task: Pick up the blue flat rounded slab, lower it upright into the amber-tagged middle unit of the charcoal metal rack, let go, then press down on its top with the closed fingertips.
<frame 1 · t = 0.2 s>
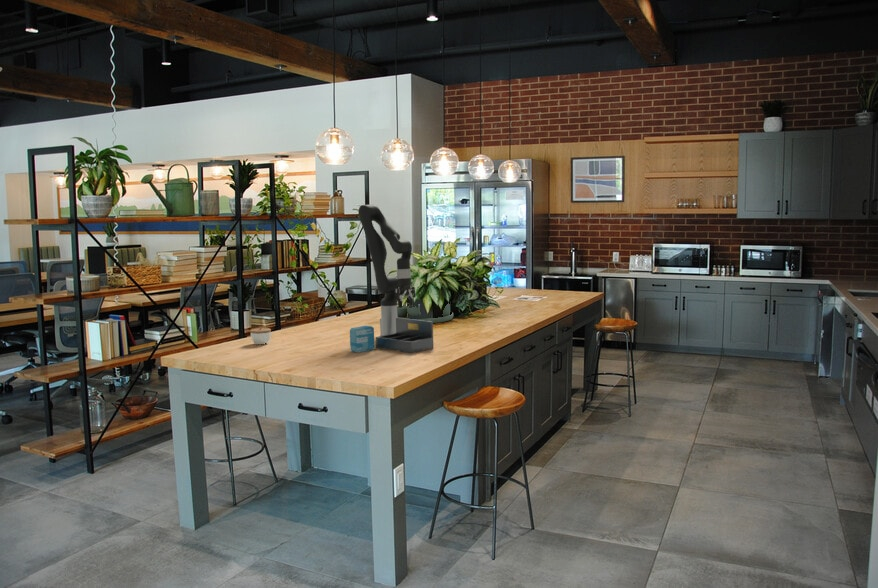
hand: (405, 306, 382), 17 cm above the table, tool pointing down, fingers open, 8 cm apart
blue flat rounded slab: (362, 351, 351), on the table
tea set: (422, 319, 451), on the table
rack: (404, 347, 356), on the table
lidded jar: (261, 344, 377), on the table
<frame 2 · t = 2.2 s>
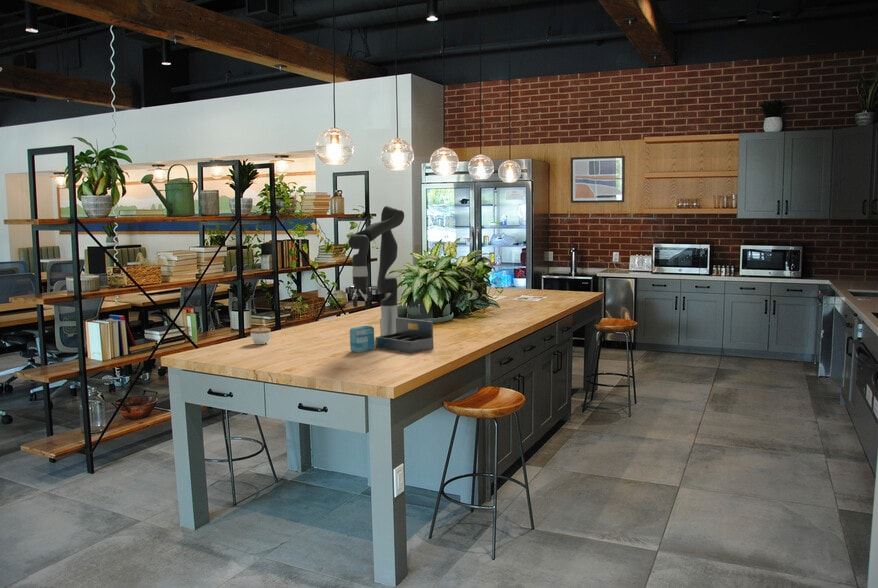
hand: (361, 307, 349), 22 cm above the table, tool pointing down, fingers open, 8 cm apart
nothing on the table moved.
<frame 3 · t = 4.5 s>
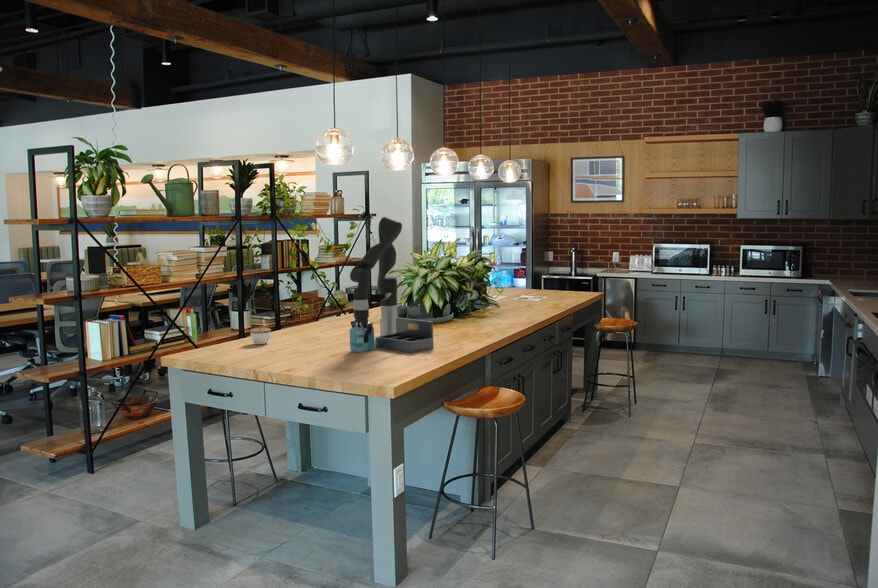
hand: (362, 341, 351), 4 cm above the table, tool pointing down, fingers closed on blue flat rounded slab, 4 cm apart
blue flat rounded slab: (362, 350, 351), on the table, touching gripper
everything else where it was.
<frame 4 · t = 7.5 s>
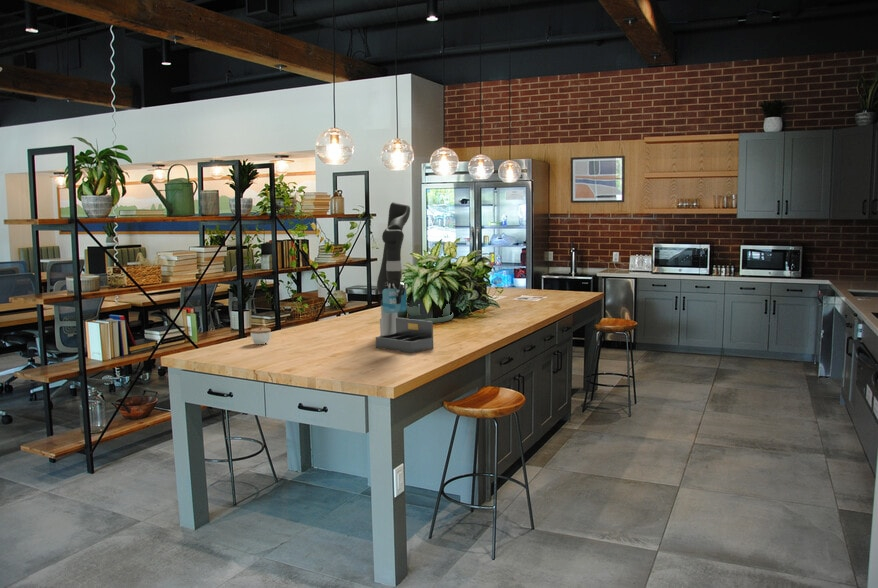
hand: (394, 303, 352), 23 cm above the table, tool pointing down, fingers closed on blue flat rounded slab, 4 cm apart
blue flat rounded slab: (395, 312, 353), point 18 cm above the table, touching gripper
everything else where it was.
when the fingers open (7 cm above the table, at t = 10.5 s): blue flat rounded slab stays where it is, resting on rack.
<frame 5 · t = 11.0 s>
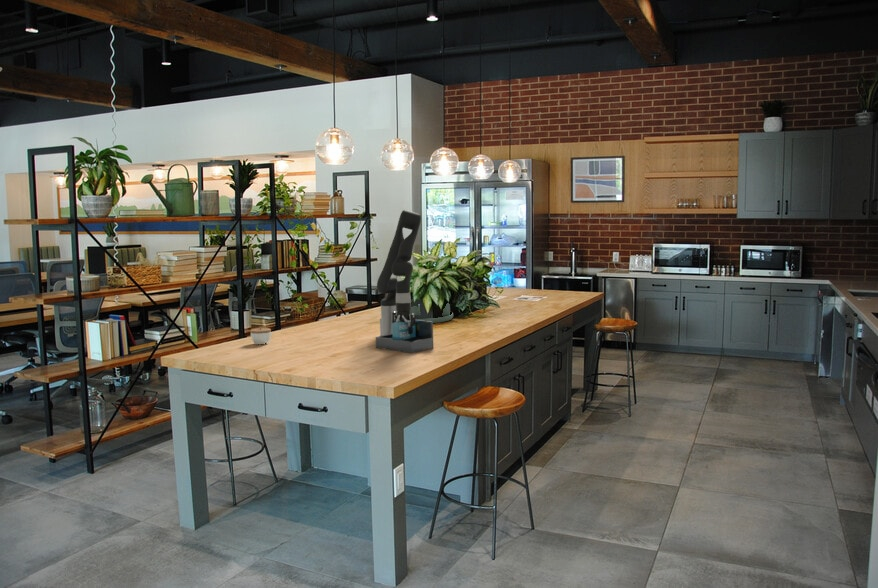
hand: (404, 333, 355), 8 cm above the table, tool pointing down, fingers open, 8 cm apart
blue flat rounded slab: (404, 345, 356), point 1 cm above the table, touching rack
everything else where it was.
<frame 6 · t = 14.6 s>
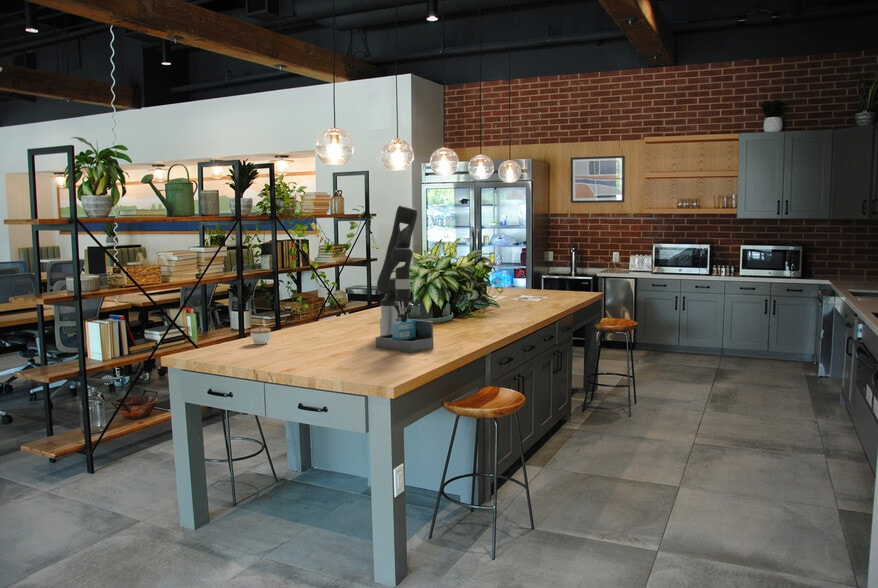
hand: (404, 321, 354), 14 cm above the table, tool pointing down, fingers closed
blue flat rounded slab: (404, 345, 356), point 1 cm above the table, touching gripper, rack
everything else where it was.
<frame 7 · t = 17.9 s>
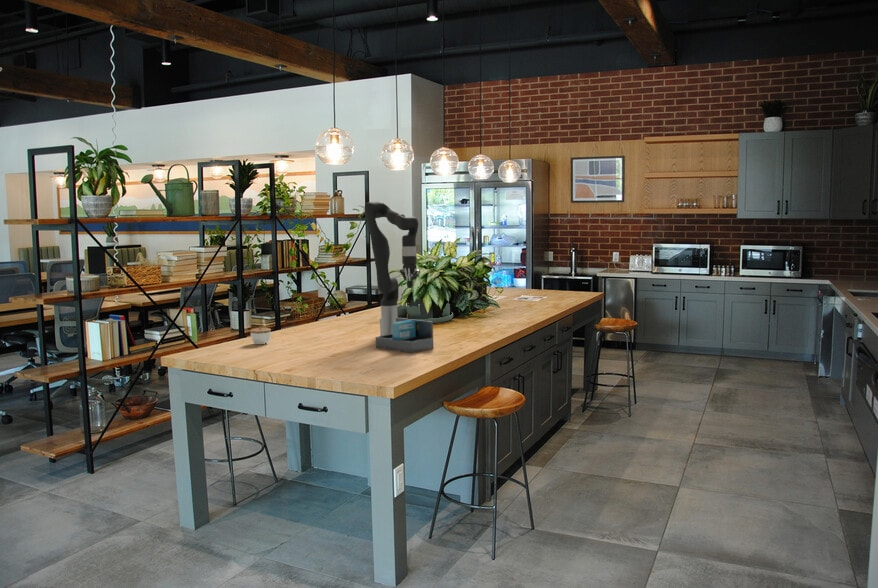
hand: (410, 287, 368), 29 cm above the table, tool pointing down, fingers closed
blue flat rounded slab: (404, 345, 356), point 1 cm above the table, touching rack
everything else where it was.
at the end: blue flat rounded slab 0.1 cm off-centre on the rack, point 1.3 cm above the rack's base; blue flat rounded slab tilted 0°; the gripper is holding nothing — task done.
